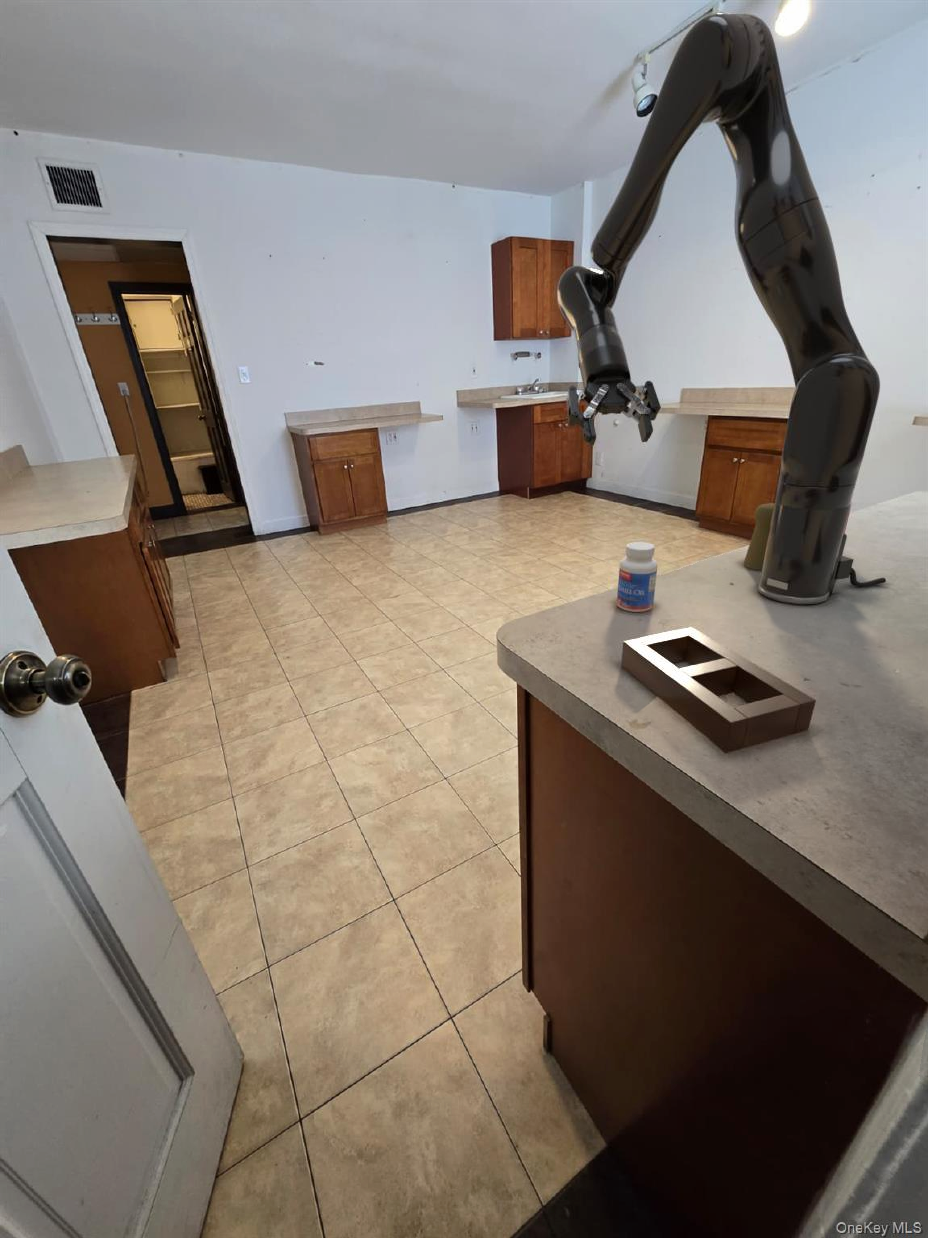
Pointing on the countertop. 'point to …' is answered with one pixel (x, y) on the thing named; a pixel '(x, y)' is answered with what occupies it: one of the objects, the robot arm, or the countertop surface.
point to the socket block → (717, 689)
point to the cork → (759, 537)
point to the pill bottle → (637, 578)
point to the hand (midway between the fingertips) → (619, 440)
